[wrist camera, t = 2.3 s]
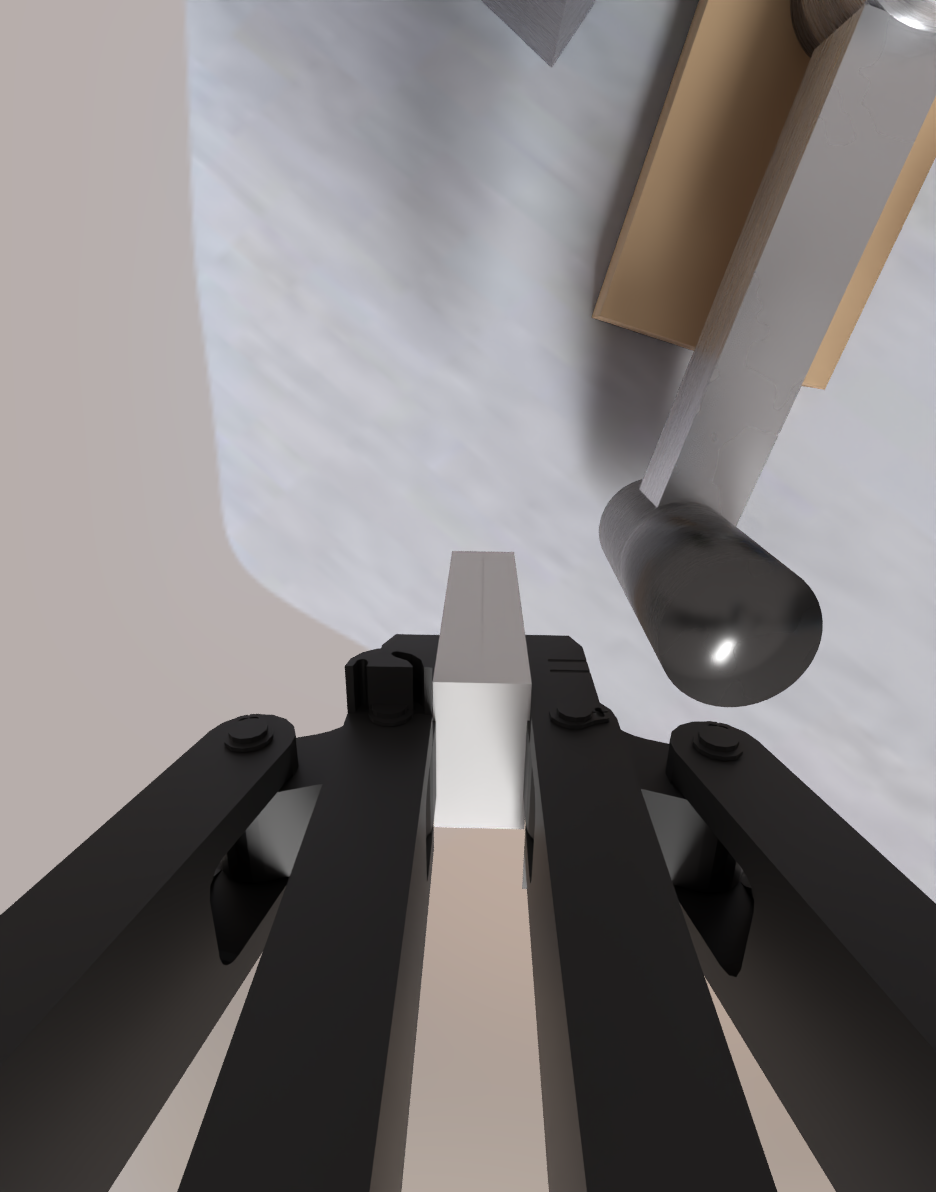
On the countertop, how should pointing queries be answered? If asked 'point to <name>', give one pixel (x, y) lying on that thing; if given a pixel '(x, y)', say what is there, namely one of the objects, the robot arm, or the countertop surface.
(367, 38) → the countertop surface
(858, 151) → the lever
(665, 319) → the press bench
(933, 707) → the countertop surface
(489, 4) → the pivot and anvil
